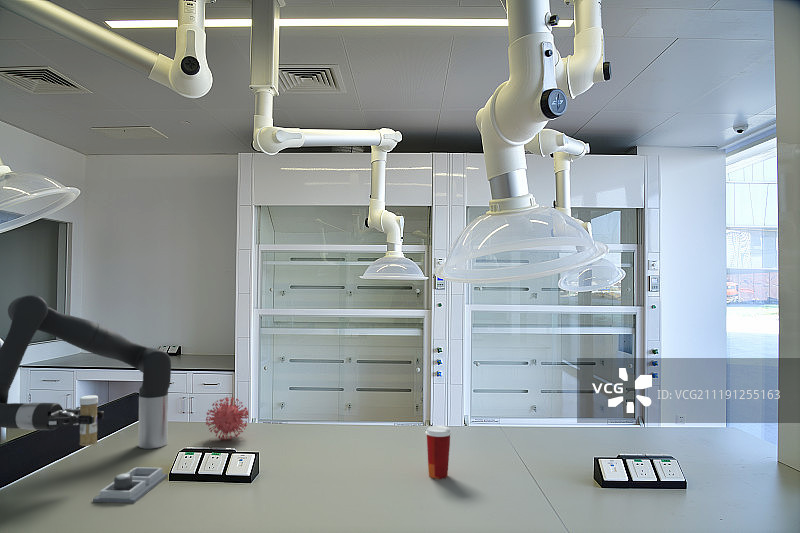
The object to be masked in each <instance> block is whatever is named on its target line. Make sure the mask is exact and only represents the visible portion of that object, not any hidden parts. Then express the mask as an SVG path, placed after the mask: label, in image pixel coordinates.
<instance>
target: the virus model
mask: <svg viewBox="0 0 800 533" xmlns="http://www.w3.org/2000/svg"><path fill="white" fill-rule="evenodd" d="M234 400H235V402H234ZM229 401H230V403H229ZM219 402H220V403H219ZM238 402H239V403H238ZM237 404H238V405H237ZM211 406H212V409H210V410H209V408H208V410H207V411H208V412H206V415H207V416H206V418H205V421H206V422H205V425H206V426H207V427H209V428H208V430H209V432H210V433H212V431H213V432H214V433H215V435H214V436H215V437H216V438H217V439H220V440H228V439H227V438H228V436H229V440H232V439H233V435H231V434H232V433H234V436H235V437H236V438H237V437H238V436H239V435H241V433H244V430H246V428H247V426H248V424H247V423H248V421H247V420H248V419H249V416H250V415H249V410H248V408H247V406H245V407H244V404H243V402H242V401H240V400H239V399H238V398H236V399H235V397H230V399H229V397H227V396H226V397H224V398H222V399H218V400H216V401H214V402H213V403H212V405H211ZM243 407H244V408H243ZM241 408H243V409H241ZM243 419H247V420H246V421H245V420H243ZM212 425H213V426H212ZM210 426H212V427H210ZM243 429H244V430H243ZM219 432H220V434H219V436H218V433H219ZM225 438H226V439H225Z"/></svg>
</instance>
